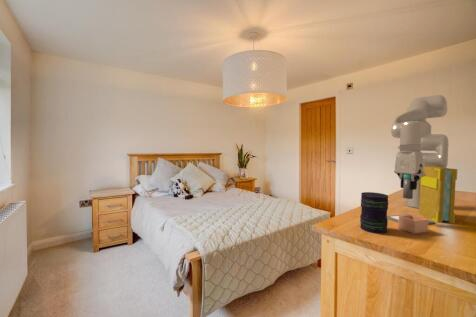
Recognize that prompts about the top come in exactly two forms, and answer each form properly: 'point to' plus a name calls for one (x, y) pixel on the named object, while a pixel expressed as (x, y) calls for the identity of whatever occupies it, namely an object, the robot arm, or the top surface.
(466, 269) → the top surface
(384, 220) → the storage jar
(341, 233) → the top surface
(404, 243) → the top surface
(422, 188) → the book
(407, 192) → the cylinder
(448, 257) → the top surface
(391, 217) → the writing mat
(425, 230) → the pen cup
